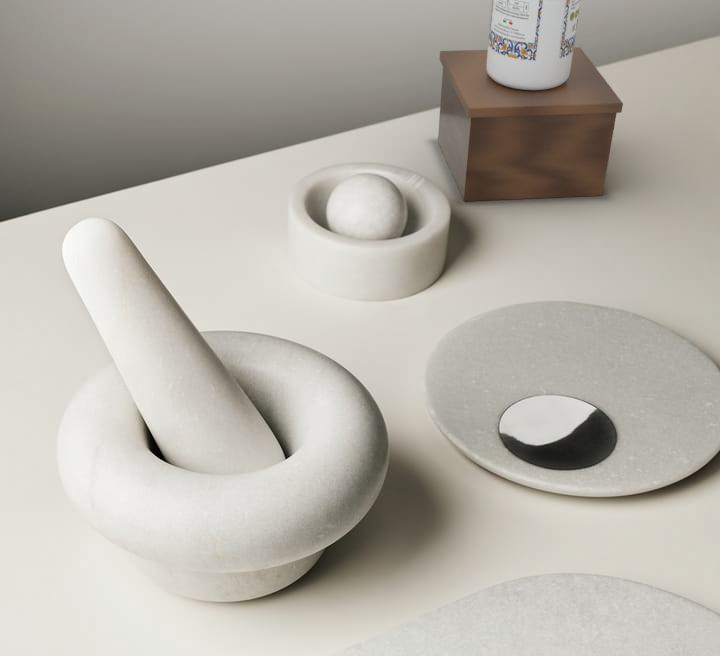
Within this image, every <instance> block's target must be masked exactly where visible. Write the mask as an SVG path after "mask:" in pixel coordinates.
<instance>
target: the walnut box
mask: <svg viewBox="0 0 720 656" xmlns="http://www.w3.org/2000/svg"><path fill="white" fill-rule="evenodd" d="M487 54H488V49H467V50H465V49H464V50H440V51H439V62H440V64H441V65H442V74H441V75H442V76H441V77H442V78H441V88H440V89H441V92H440V103H439V107H440V109H439V119H438V136H437V142H438V145H439V148H440V149H441V152H442V154H443V157H444V159H445V162H446V163H447V167H448V168H449V170H450V172H451V175H452V177H453V180H454V182H455V184H456V187H457V188H458V191H459V193H460V196H461V198H462V200H463V202H478V201H479V202H480V201H501V200H504V201H505V200H525V199H526V200H527V199H550V198H574V197H575V198H576V197H577V198H578V197H596V196H597V197H599V196H603V193H604V187H605V184H606V183H605V182H606V176H607V171H608V165H609V159H610V153H611V147H612V141H613V137H614V130H615V125H616V118H617V114H621V113H622V112H623V106H624V103H623V101H622V100H621V99H620V97H619V96H618V95H617V93H615V91H614V89H613V88H612V87H611V86H610V84H609V83H608V82H607V81H606V79H605V78H604V76H603V75H602V74H601V73H600V71H599V70H598V69H597V67H596V66H595V64H594V63H593V61H591V60H590V58H589V56H587V54H586V53H585V51H584V50H583V49H582V47H577V46H576V47H575V46H574V49H573V56H572V63H571V69H570V75H569V77H568V79H567V80H566V81H565V82H564V83H563V84H561V85H559V86H557V87H554V88H550V89H545V90H522V89H515V88H511V87H507V86H504V85H501V84H499V83H497V82H496V81H494V80H493V79H492V78H491V77H490V76H489V74H488V73H487V69H486V66H487Z"/></svg>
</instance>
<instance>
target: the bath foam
mask: <svg viewBox="0 0 720 656" xmlns="http://www.w3.org/2000/svg"><path fill="white" fill-rule="evenodd" d="M581 1H582V0H491V9H490V10H491V11H490V18H489V19H490V20H489V30H488V31H489V32H488V41H487V42H488V43H487V50H488V54H487V66H486V69H487V73H488V74H489V76H490V77H491V78H492V79H493V80H494V81H496V82H497V83H499V84H501V85H504V86H507V87H511V88H515V89H522V90H545V89H550V88H554V87H557V86H559V85H561V84H563V83H564V82H565V81H566V80H567V79H568V77H569V75H570V69H571V63H572V56H573V49H574V47H575V42H576V36H577V29H578V21H579V13H580V8H581Z"/></svg>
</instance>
